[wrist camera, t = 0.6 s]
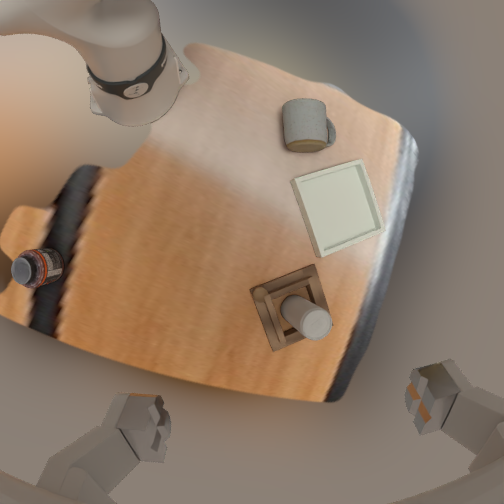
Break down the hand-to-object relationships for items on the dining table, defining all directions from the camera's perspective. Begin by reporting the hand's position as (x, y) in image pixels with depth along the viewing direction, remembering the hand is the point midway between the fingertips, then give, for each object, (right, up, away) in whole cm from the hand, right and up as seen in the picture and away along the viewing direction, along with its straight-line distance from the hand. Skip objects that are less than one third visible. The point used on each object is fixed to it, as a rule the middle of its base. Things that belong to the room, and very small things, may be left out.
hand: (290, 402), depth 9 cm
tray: (+14, +13, +46) cm, 50 cm away
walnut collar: (+6, -5, +46) cm, 46 cm away
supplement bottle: (-37, +2, +38) cm, 53 cm away
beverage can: (+6, -5, +46) cm, 46 cm away
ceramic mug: (+9, +27, +45) cm, 53 cm away
